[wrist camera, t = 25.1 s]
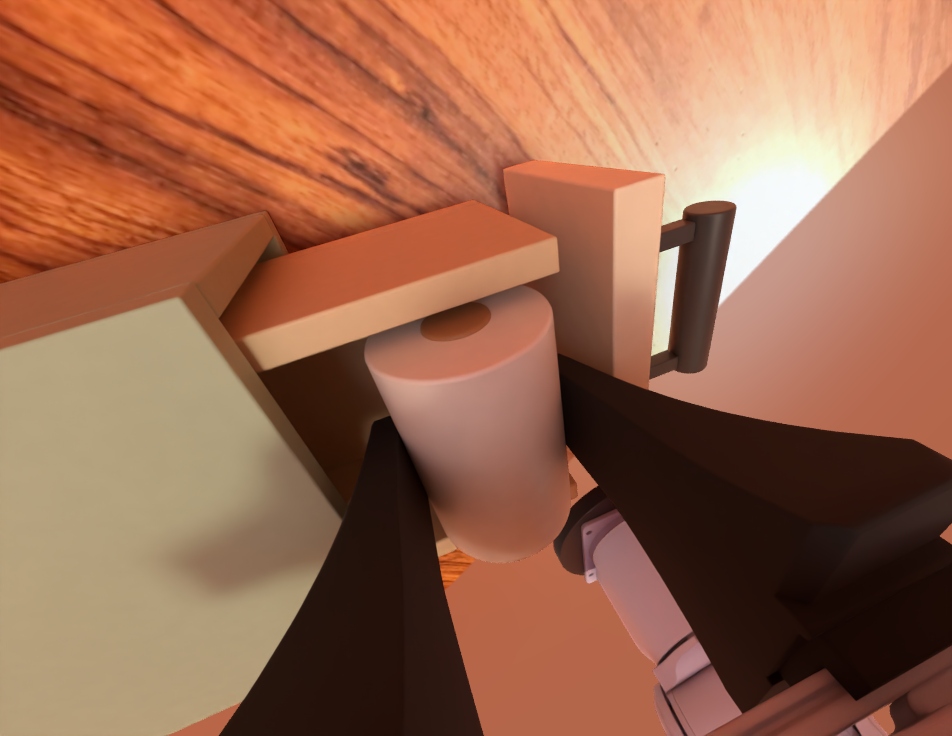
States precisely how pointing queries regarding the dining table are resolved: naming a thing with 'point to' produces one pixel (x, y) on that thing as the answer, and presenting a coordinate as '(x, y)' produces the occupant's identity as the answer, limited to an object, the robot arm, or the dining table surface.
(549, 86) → the dining table surface
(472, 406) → the paper towel roll
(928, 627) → the robot arm
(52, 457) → the cabinet
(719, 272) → the drawer
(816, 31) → the dining table surface
